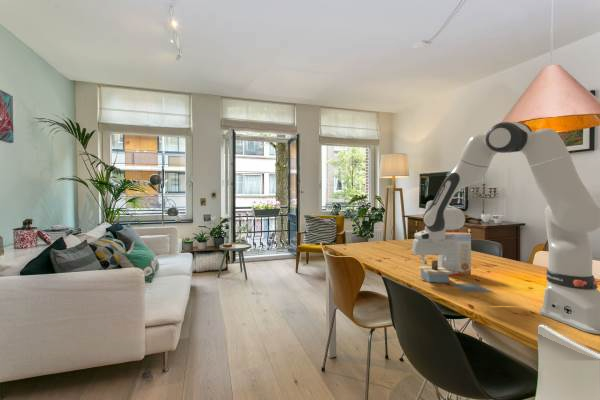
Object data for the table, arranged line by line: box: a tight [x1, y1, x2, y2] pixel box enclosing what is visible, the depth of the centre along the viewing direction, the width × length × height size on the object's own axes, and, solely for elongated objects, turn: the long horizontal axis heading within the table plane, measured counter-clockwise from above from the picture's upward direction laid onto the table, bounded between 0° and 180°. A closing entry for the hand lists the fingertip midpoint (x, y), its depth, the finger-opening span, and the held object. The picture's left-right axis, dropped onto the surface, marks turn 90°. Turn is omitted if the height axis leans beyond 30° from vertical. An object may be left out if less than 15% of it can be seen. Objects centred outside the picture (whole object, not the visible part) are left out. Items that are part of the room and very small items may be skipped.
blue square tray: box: [420, 270, 450, 284], centre depth 142 cm, size 9×9×4 cm
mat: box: [450, 282, 493, 294], centre depth 131 cm, size 12×12×1 cm
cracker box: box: [437, 231, 472, 276], centre depth 154 cm, size 14×6×21 cm, turn 85°
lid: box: [418, 259, 452, 274], centre depth 142 cm, size 11×11×5 cm
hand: (434, 264), depth 142 cm, fingers open, 8 cm apart
